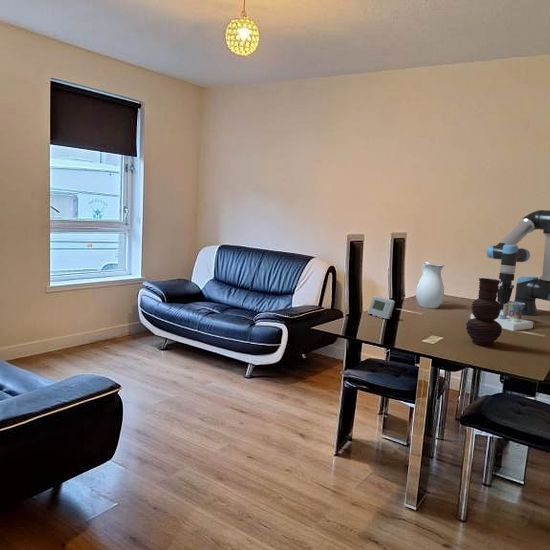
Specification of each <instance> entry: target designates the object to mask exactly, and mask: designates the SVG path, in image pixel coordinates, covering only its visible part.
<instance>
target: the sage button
mask: <svg viewBox="0 0 550 550" xmlns="http://www.w3.org/2000/svg"><path fill="white" fill-rule="evenodd" d="M510 321H512V322H516V323H518V322H520V319H518V318H510Z"/></svg>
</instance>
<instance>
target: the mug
mask: <svg viewBox="0 0 550 550" xmlns="http://www.w3.org/2000/svg"><path fill="white" fill-rule="evenodd" d="M507 303H508V304H507V306H508V314H507V316H510V317H515V318H519V319H523V317H522V314H521V313H522V309H523V307H524V306H525V303H521V302H515V301H514V300H513V301H512V300H510V301H509V302H507Z"/></svg>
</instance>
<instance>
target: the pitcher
mask: <svg viewBox="0 0 550 550" xmlns="http://www.w3.org/2000/svg"><path fill="white" fill-rule="evenodd" d="M444 266H445V264H442V265H436V264H432V263H431V262H429V261H425V262H424V263H423V264H422V268H421V271H422V272H421V273H422V275H421V277H420V279H419V281H418V283H417V286H416V290H415V297H416V301H417V303H418V306H419V307H422V308H425V309H438V308H439V307H440V305H441V304H442V302H443V300H444V296H445V287H444V282H443V279H442V269H443V268H444Z"/></svg>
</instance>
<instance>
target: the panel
mask: <svg viewBox="0 0 550 550" xmlns="http://www.w3.org/2000/svg"><path fill="white" fill-rule="evenodd" d="M474 318H475V317H474V315H473V313H470V318H469V319H474ZM510 318H515V317H510V316H508V315H506V319H500V318H497V319H495V321H497V322H498V323H499V324H500V325H501V326H502V328H501V329H504V330H508V331H513V332H514V331H515V332H516V331H522V330H528V329H529V330H530V329H533V327H534V321H531V320H526V319H523V318H522V319H520V322H518V323H516V322H512V321H510ZM518 319H519V318H518Z"/></svg>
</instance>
